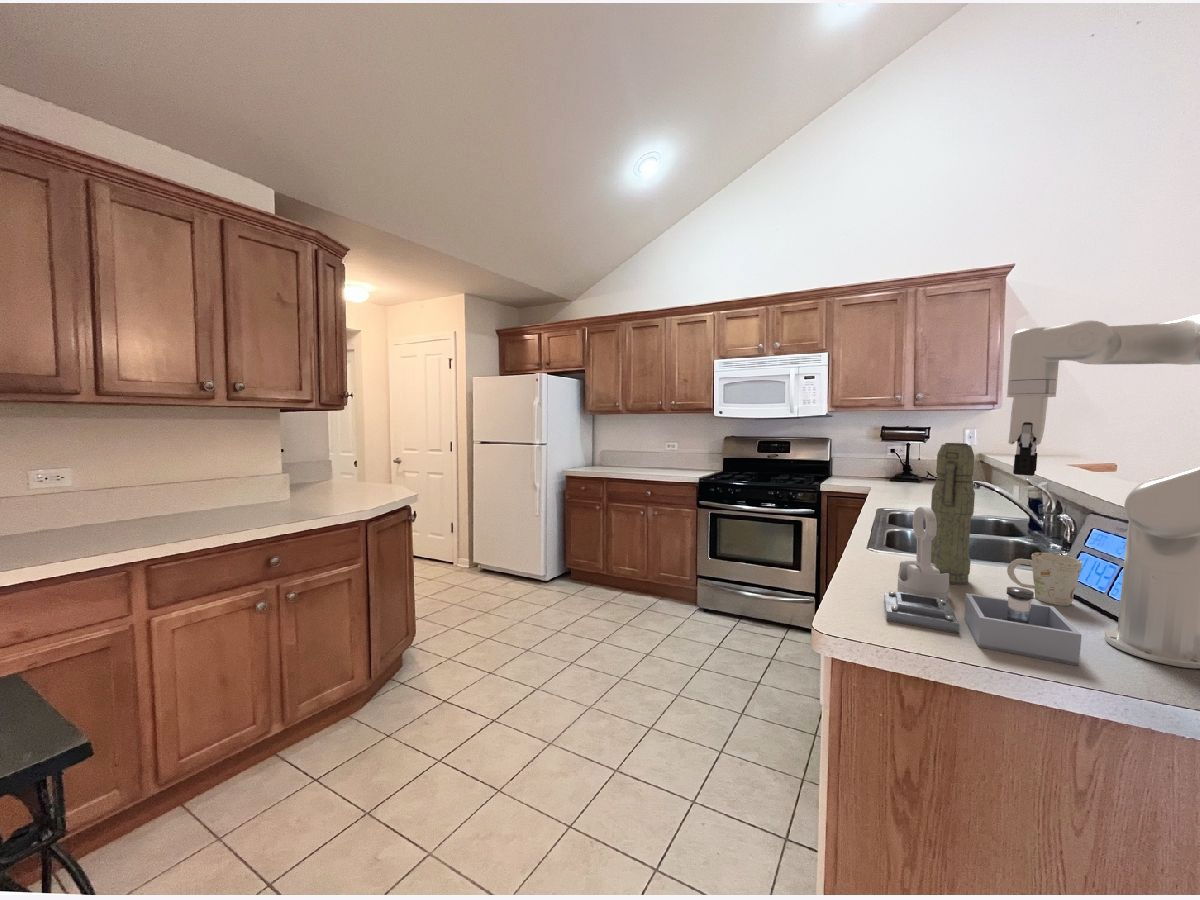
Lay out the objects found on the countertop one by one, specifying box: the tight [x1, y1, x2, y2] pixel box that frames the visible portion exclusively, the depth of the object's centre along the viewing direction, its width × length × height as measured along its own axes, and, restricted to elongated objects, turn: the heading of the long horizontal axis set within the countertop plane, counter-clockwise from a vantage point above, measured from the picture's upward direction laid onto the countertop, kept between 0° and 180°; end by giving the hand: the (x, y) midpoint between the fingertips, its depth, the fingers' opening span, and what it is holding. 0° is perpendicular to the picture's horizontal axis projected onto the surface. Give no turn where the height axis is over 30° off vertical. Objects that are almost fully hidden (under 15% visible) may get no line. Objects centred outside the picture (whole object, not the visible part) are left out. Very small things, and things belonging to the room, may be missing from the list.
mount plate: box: [883, 590, 960, 634], centre depth 101 cm, size 12×12×3 cm
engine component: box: [896, 506, 950, 602], centre depth 113 cm, size 11×20×10 cm
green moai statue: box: [930, 442, 976, 586], centre depth 123 cm, size 9×12×35 cm
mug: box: [1006, 552, 1083, 607], centre depth 111 cm, size 8×13×10 cm, turn 41°
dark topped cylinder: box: [1002, 586, 1035, 625], centre depth 90 cm, size 5×5×9 cm
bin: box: [963, 592, 1082, 667], centre depth 90 cm, size 14×14×6 cm
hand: (1024, 472), depth 100 cm, fingers open, 9 cm apart
